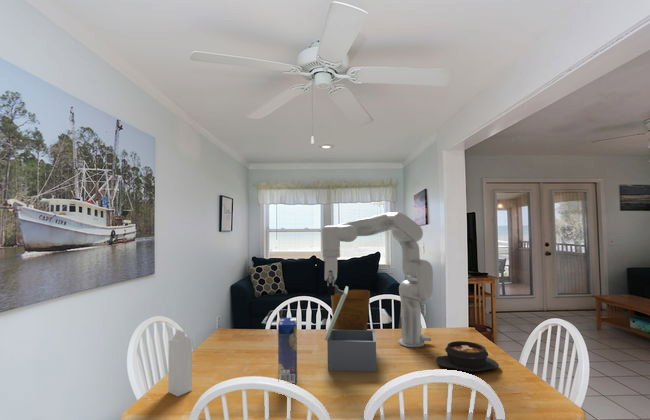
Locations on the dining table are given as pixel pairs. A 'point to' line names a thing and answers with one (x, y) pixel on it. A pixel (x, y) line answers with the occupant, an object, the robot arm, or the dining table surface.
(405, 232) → the robot arm
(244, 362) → the dining table surface
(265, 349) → the dining table surface
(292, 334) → the beverage box
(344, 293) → the lid
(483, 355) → the casserole
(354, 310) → the pancake mix bag
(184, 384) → the milk
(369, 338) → the storage box
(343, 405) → the dining table surface
